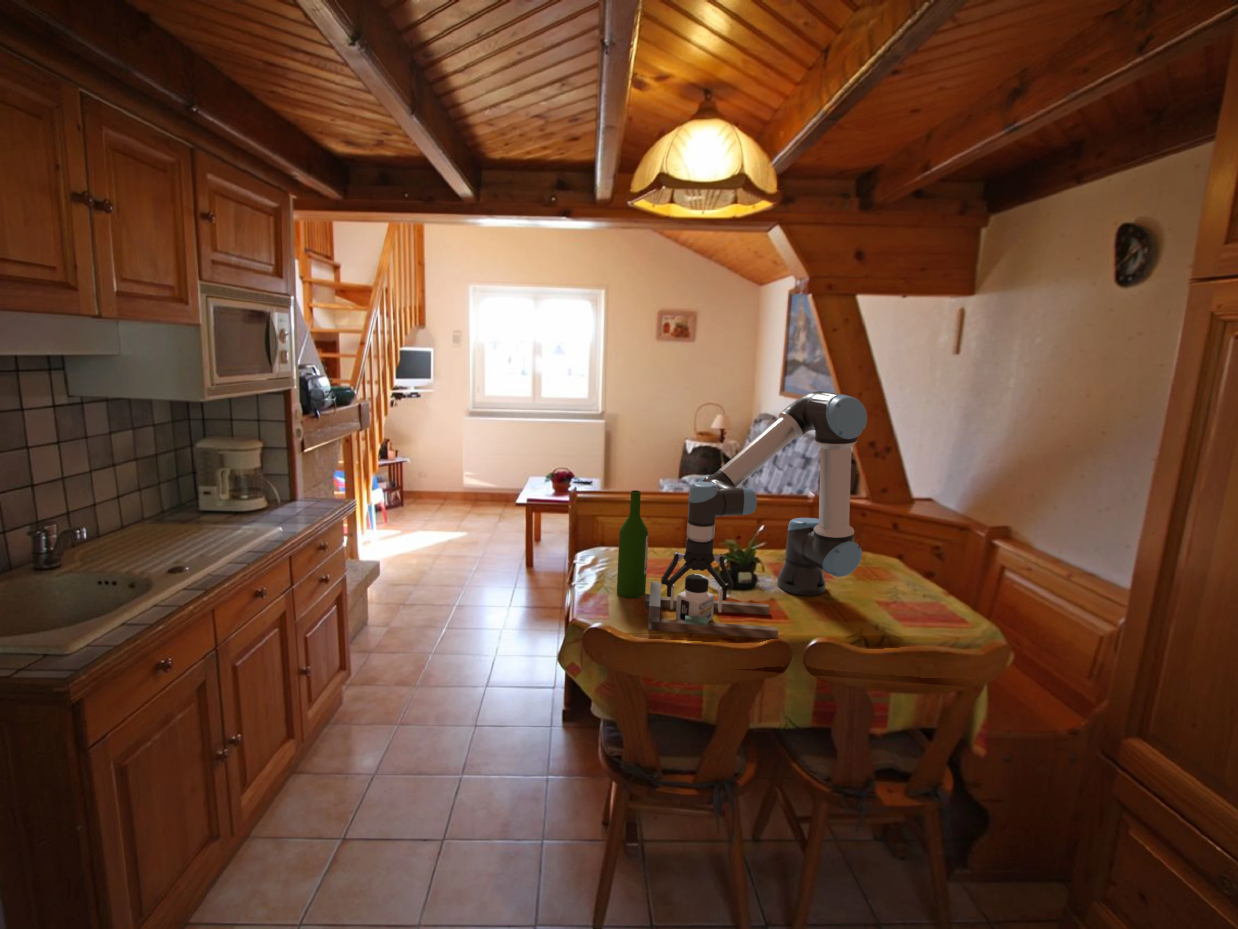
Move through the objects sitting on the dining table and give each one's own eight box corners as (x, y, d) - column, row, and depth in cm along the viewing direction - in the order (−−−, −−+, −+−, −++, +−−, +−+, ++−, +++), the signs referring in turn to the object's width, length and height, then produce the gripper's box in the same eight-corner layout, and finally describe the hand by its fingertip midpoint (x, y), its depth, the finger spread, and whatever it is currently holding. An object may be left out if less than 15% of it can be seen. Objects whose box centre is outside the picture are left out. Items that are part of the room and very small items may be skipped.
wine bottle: (648, 598, 193) (653, 495, 186) (619, 598, 192) (623, 495, 185) (642, 586, 202) (647, 487, 195) (614, 587, 200) (618, 487, 194)
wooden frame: (767, 612, 187) (769, 590, 185) (777, 639, 170) (779, 615, 169) (645, 603, 189) (646, 581, 188) (643, 629, 172) (644, 605, 171)
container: (697, 628, 174) (700, 584, 172) (675, 619, 179) (677, 576, 177) (713, 619, 180) (716, 577, 177) (690, 611, 185) (693, 569, 182)
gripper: (744, 536, 178) (738, 606, 182) (655, 530, 179) (651, 600, 184) (747, 544, 170) (741, 617, 175) (654, 539, 172) (651, 611, 176)
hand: (695, 609), depth 179 cm, fingers open, 13 cm apart
